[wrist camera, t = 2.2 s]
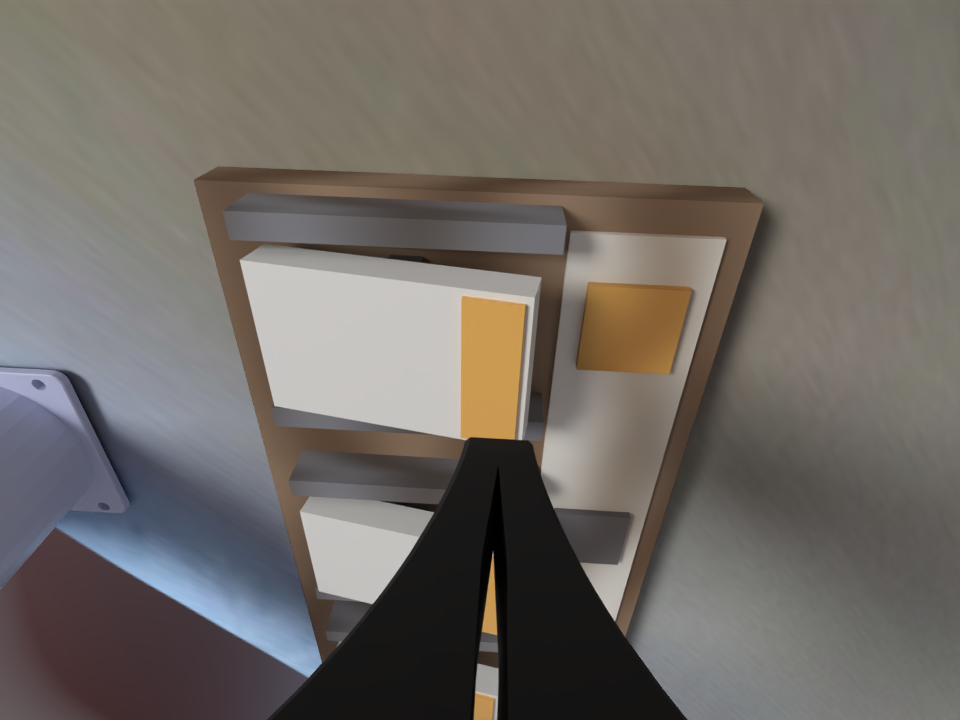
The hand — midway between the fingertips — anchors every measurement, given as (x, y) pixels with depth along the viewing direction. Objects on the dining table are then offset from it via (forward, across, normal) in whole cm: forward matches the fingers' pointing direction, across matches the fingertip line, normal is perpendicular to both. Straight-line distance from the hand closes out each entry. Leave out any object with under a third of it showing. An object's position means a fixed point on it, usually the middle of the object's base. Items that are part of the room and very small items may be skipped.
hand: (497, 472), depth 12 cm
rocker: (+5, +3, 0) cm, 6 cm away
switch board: (+8, +1, +10) cm, 13 cm away
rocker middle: (+5, +3, +10) cm, 12 cm away
